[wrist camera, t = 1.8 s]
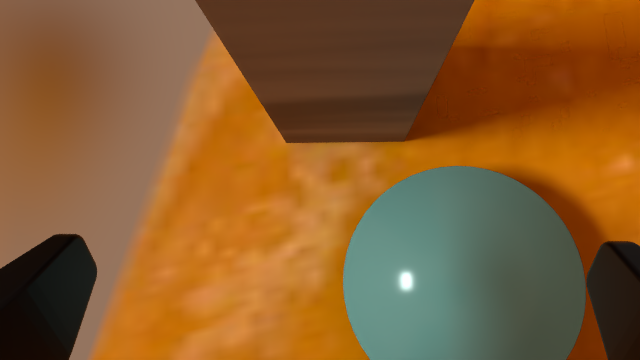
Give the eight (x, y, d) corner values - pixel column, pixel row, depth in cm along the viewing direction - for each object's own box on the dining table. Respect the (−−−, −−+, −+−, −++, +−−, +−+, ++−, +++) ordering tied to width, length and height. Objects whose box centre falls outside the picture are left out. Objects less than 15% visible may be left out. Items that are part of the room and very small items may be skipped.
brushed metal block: (403, 141, 21) (490, -32, 8) (286, 142, 21) (182, -20, 8) (401, 46, 21) (477, -260, 8) (287, 48, 22) (193, -240, 9)
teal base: (599, 317, 19) (636, 328, 16) (416, 429, 19) (425, 457, 16) (477, 138, 20) (495, 124, 18) (306, 241, 20) (300, 241, 18)
